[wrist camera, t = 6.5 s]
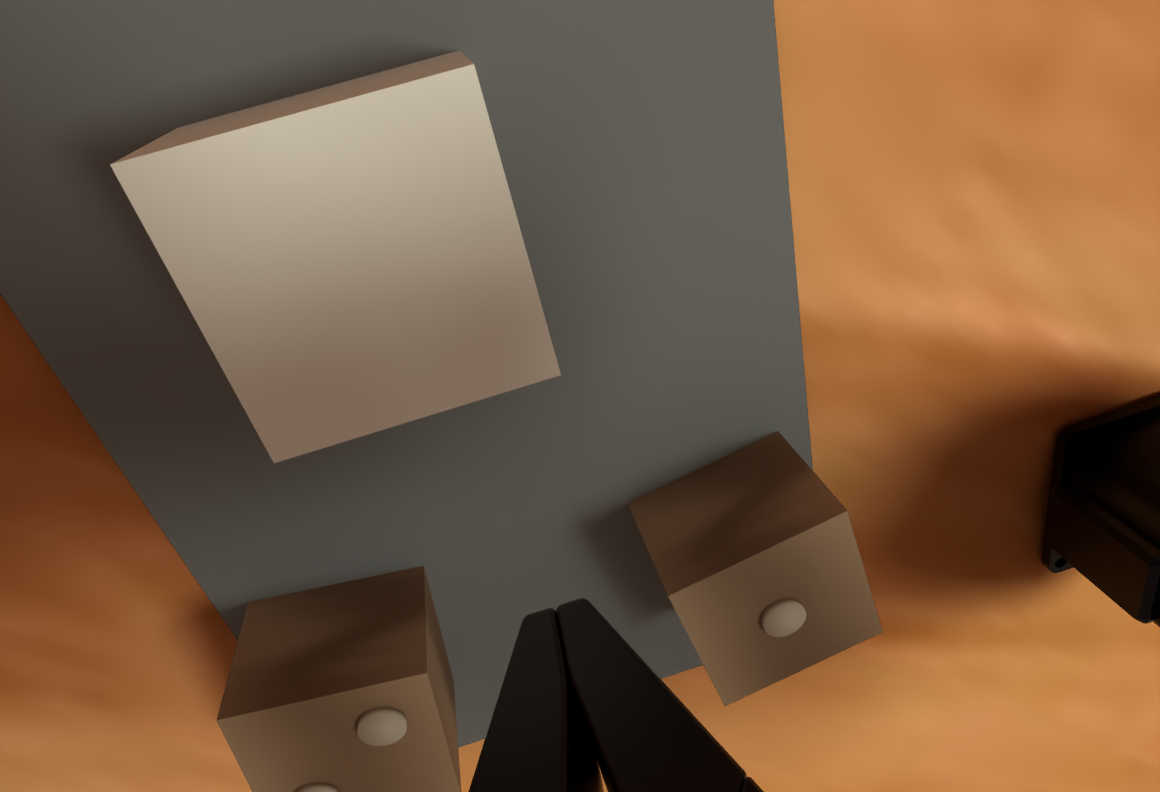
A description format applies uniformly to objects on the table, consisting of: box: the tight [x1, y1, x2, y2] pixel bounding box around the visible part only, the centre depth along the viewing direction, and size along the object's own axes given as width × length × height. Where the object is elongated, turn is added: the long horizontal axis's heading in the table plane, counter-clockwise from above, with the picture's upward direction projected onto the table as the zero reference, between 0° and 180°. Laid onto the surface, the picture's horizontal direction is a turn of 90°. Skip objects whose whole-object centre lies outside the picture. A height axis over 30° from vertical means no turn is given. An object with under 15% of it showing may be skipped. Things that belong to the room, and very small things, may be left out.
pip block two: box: [217, 566, 461, 792], centre depth 21 cm, size 5×5×4 cm
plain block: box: [110, 50, 561, 463], centre depth 15 cm, size 6×6×4 cm
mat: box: [0, 0, 813, 747], centre depth 20 cm, size 18×26×1 cm
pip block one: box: [628, 431, 883, 706], centre depth 21 cm, size 5×5×4 cm
